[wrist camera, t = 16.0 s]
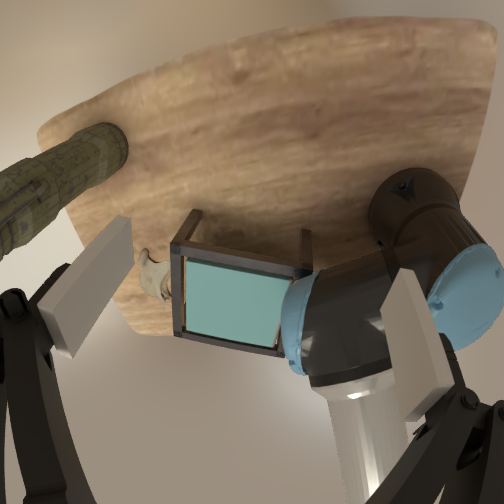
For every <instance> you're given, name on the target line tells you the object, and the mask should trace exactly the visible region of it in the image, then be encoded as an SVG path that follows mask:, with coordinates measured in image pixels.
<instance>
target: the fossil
mask: <svg viewBox="0 0 504 504" xmlns="http://www.w3.org/2000/svg"><path fill="white" fill-rule="evenodd" d="M138 262H139V265H140V268H141V272H140V286H141V288H142V289H143V291H144V292H145V293H147V294H149V295H151V296H153V297H157V299H158V300H159V301H160V302H162V303H163V304H164V305H168V304H167V303H166V302H165V300H166V299H171V297H170V295H169V293H168V290H167V280H168V278H169V276H170V274H171V267H170V261H162V262H161V263H153V262H152V261H151V260H150V259H149V258H148V251H147V250H146V249H144V250H142V252H141V254H140V256H139V259H138Z"/></svg>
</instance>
